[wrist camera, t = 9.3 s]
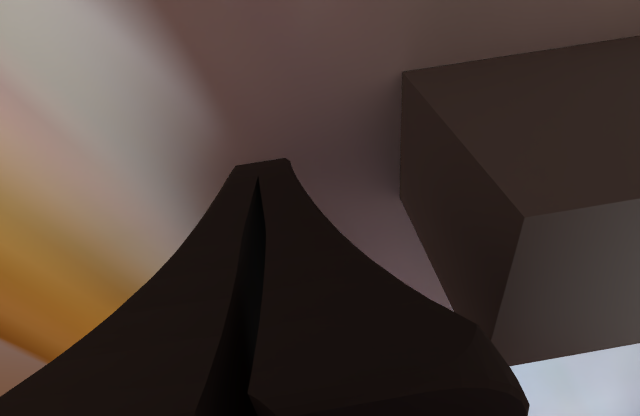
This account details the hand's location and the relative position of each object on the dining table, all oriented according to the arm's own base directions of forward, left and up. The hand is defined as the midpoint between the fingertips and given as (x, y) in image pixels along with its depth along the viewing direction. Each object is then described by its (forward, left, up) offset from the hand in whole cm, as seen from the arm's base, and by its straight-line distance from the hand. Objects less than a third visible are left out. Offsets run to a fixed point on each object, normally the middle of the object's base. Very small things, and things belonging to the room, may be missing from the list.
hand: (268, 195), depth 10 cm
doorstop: (0, -8, -2) cm, 8 cm away
